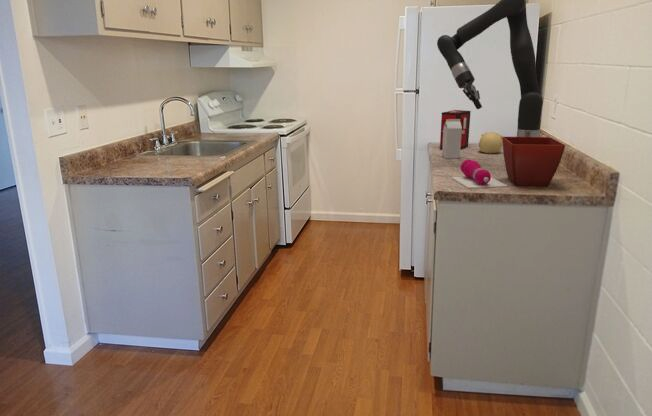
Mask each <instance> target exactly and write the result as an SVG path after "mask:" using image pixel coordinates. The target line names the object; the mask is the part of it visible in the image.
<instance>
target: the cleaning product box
mask: <svg viewBox="0 0 652 416" xmlns="http://www.w3.org/2000/svg"><path fill="white" fill-rule="evenodd" d="M471 113H472V112H471V110H463V109H462V110H460V109H458V110H457V109H454V110H453V109H452V110H448V111H443V112H441V123H440V137H439V138H440V140H439V141H440V142H439V151H442V147H443V129H444V124H445V122H446V119H460V123H461V127H462V133H461V148H460V151H461V150H464V149H467V148H469V141H470V140H469V137H470V124H471V122H470V121H471ZM466 147H467V148H466Z"/></svg>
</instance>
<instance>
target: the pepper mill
mask: <svg viewBox="0 0 652 416" xmlns="http://www.w3.org/2000/svg"><path fill="white" fill-rule="evenodd" d="M460 171H461V172H462V173H463V175H464V177H465V176H466V177H468V178H474V179H475V181H476V182H477V183H478V184H480V185H485V184H487V183H488V182H489V181H490V179H491V178H492V176H491V172H489V170H487V169H484V168H482V166H481V165H480V163H479V162H478V161H475V160H473V159H466V160H464V161H463V162H462V163H461V165H460Z"/></svg>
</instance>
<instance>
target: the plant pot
mask: <svg viewBox="0 0 652 416" xmlns="http://www.w3.org/2000/svg"><path fill="white" fill-rule="evenodd" d="M565 148H566V144H564V143H562V141H561V142H560V141H558V140H557V139H555V138H553V137H549V136H546V137H545V136H544V137H543V136H539V137H517V136H503V144H502V152H503V153H502V154H503V159H504V160H503V161H504V167H505V171H506V175H507V178H508V180H509V181H510V182H511V183H512V184H513V185H514V186H525V187H529V186H530V187H548V186H549V185H550V183H551V182H552V180H553V178H554V176H555V175H556V172H557V170H558V168H559V165H560V162H561V160H562V157H563V154H564V151H565Z"/></svg>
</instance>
